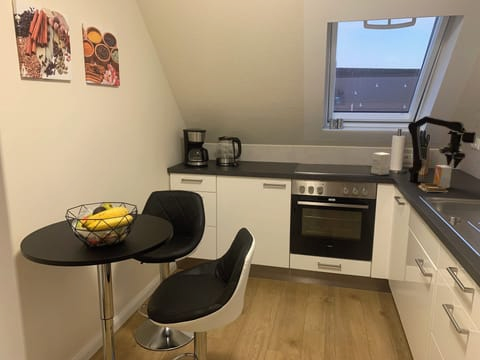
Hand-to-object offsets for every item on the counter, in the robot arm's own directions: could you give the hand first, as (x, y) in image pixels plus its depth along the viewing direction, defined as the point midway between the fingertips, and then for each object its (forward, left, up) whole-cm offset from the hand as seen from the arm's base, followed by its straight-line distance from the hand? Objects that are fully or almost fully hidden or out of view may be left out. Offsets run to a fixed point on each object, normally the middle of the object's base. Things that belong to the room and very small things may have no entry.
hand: (451, 166), depth 234 cm
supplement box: (-34, -35, -13) cm, 50 cm away
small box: (0, -5, -13) cm, 14 cm away
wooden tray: (+11, -14, -13) cm, 22 cm away
